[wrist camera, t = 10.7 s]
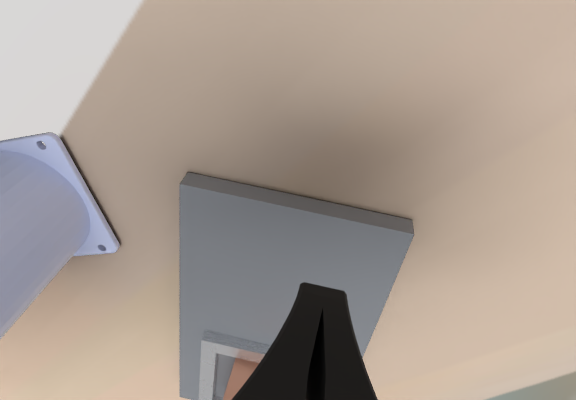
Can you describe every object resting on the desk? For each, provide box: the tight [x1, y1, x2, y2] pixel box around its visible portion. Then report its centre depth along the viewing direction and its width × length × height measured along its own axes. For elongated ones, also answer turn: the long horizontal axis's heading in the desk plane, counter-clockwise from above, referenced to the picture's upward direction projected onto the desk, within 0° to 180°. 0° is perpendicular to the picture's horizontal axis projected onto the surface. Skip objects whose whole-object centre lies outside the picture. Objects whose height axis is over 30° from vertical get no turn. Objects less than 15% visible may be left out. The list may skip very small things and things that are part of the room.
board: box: [180, 172, 414, 400], centre depth 27 cm, size 20×12×1 cm, turn 171°
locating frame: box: [199, 330, 271, 400], centre depth 30 cm, size 8×8×1 cm
